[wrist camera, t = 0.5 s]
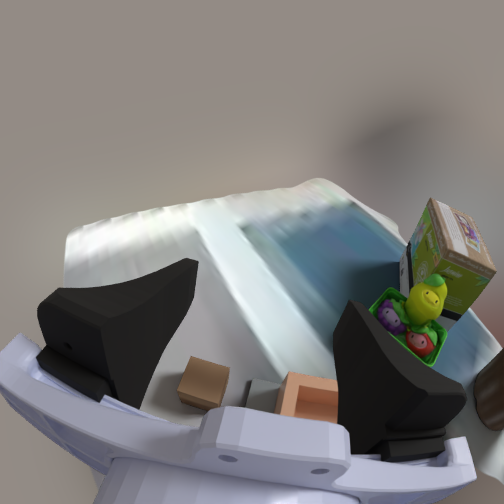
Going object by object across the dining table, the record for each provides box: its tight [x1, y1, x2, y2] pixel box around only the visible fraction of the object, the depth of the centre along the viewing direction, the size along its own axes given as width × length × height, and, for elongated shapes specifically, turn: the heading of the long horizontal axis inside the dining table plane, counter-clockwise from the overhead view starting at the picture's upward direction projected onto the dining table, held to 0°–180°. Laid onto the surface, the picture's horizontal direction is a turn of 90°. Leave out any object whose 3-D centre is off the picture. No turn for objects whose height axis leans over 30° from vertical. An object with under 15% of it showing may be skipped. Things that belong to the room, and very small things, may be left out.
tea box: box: [400, 198, 497, 332], centre depth 36 cm, size 15×10×15 cm, turn 158°
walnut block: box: [177, 356, 230, 411], centre depth 25 cm, size 4×4×4 cm
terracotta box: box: [274, 372, 338, 424], centre depth 21 cm, size 9×13×5 cm
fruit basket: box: [369, 274, 447, 367], centre depth 30 cm, size 11×9×11 cm
